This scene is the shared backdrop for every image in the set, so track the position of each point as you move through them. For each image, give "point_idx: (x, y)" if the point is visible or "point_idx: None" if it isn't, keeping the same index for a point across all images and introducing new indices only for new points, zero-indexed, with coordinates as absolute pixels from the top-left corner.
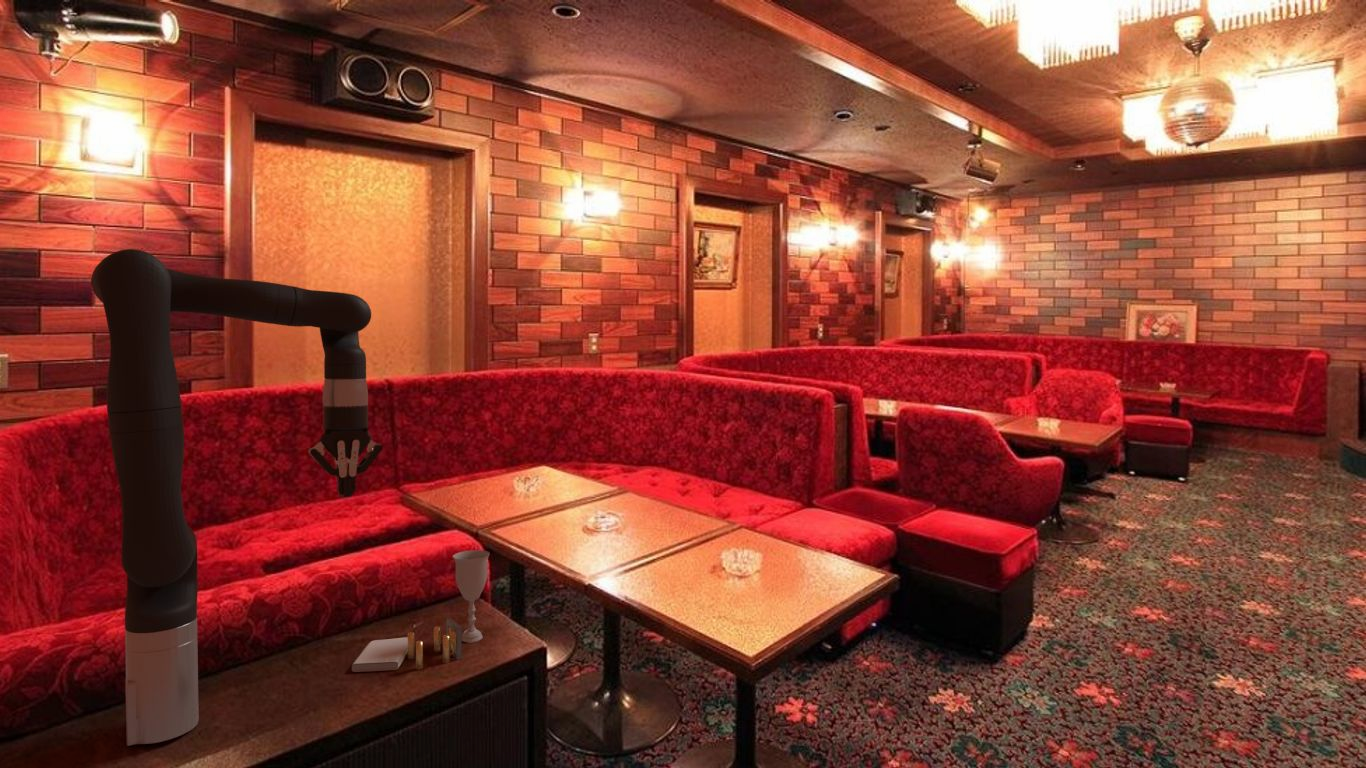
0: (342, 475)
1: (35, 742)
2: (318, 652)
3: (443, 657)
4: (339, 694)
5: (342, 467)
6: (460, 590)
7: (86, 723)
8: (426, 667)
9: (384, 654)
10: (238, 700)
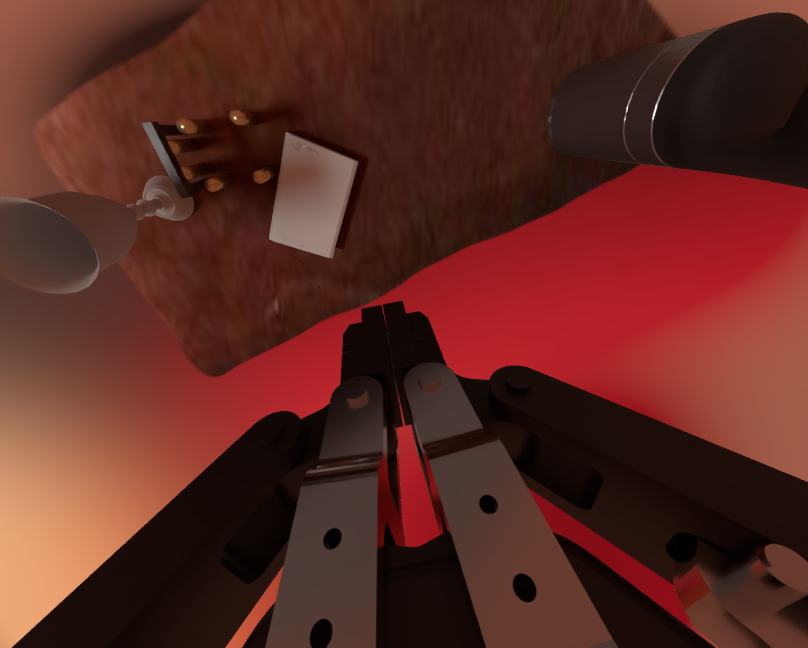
0: (431, 368)
1: None
2: (400, 260)
3: (206, 123)
4: (376, 69)
5: (446, 424)
6: (129, 215)
7: None
8: None
9: (310, 178)
10: (501, 132)
